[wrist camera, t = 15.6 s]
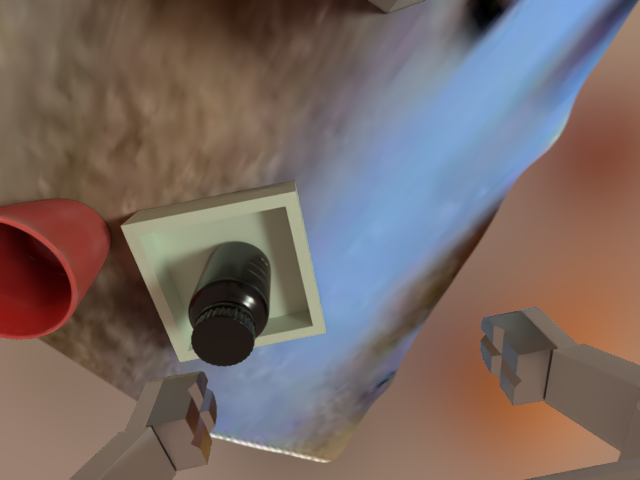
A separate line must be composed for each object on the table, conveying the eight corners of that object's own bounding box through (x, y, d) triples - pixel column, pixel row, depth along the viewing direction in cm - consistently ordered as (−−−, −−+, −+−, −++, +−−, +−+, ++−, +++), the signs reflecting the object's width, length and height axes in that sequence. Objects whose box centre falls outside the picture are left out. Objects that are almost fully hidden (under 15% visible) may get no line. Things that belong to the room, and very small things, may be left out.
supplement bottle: (230, 306, 40) (209, 390, 29) (193, 258, 37) (154, 331, 26) (284, 278, 39) (283, 354, 28) (250, 227, 36) (234, 289, 25)
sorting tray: (137, 211, 36) (120, 226, 32) (294, 180, 36) (295, 191, 32) (189, 338, 42) (179, 362, 39) (322, 311, 42) (326, 332, 39)
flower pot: (2, 258, 37) (-89, 314, 28) (24, 162, 33) (-72, 190, 24) (109, 296, 39) (57, 357, 30) (140, 210, 36) (92, 251, 27)
